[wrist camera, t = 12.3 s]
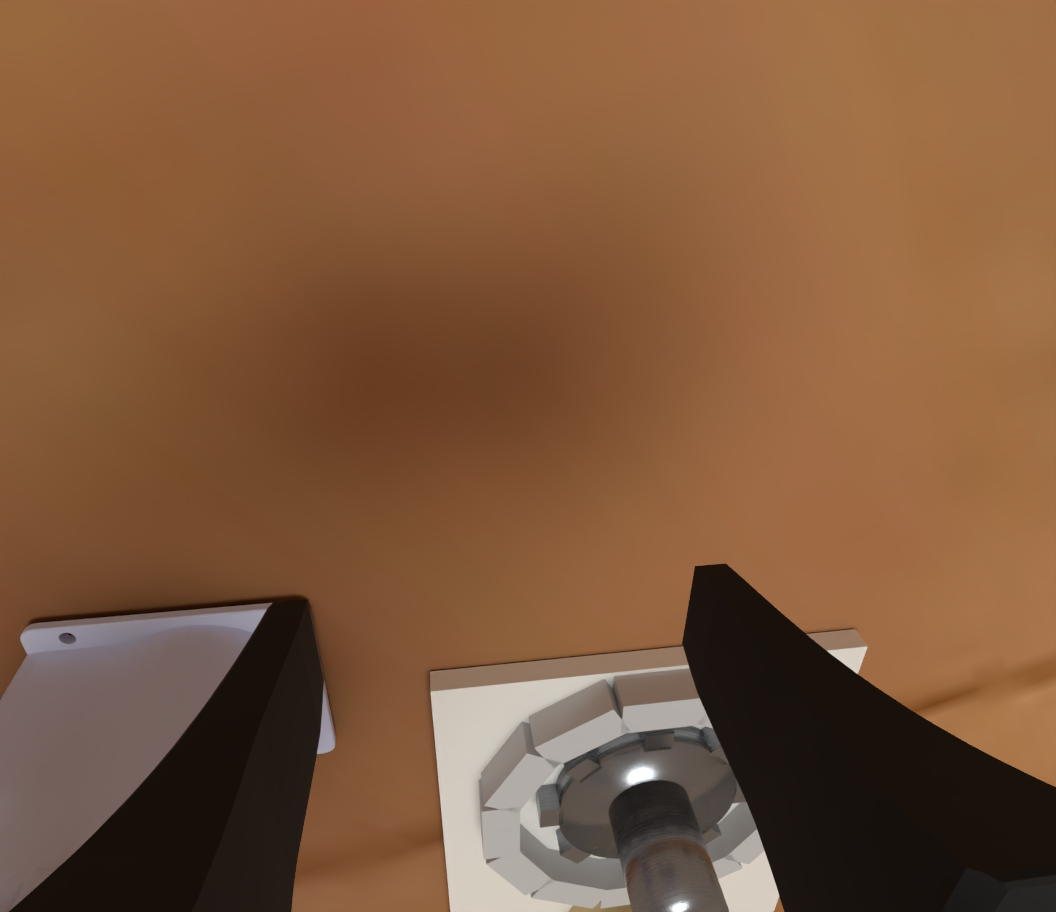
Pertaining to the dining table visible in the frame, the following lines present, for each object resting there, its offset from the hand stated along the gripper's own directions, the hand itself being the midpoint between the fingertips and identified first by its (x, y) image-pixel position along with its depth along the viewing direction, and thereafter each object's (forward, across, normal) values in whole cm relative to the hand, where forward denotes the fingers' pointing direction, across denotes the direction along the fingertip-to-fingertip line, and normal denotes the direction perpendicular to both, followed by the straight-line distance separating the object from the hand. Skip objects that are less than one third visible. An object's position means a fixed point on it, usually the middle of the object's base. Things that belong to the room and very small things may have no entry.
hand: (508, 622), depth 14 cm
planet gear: (+9, -7, +20) cm, 23 cm away
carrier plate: (+10, -7, +24) cm, 27 cm away
